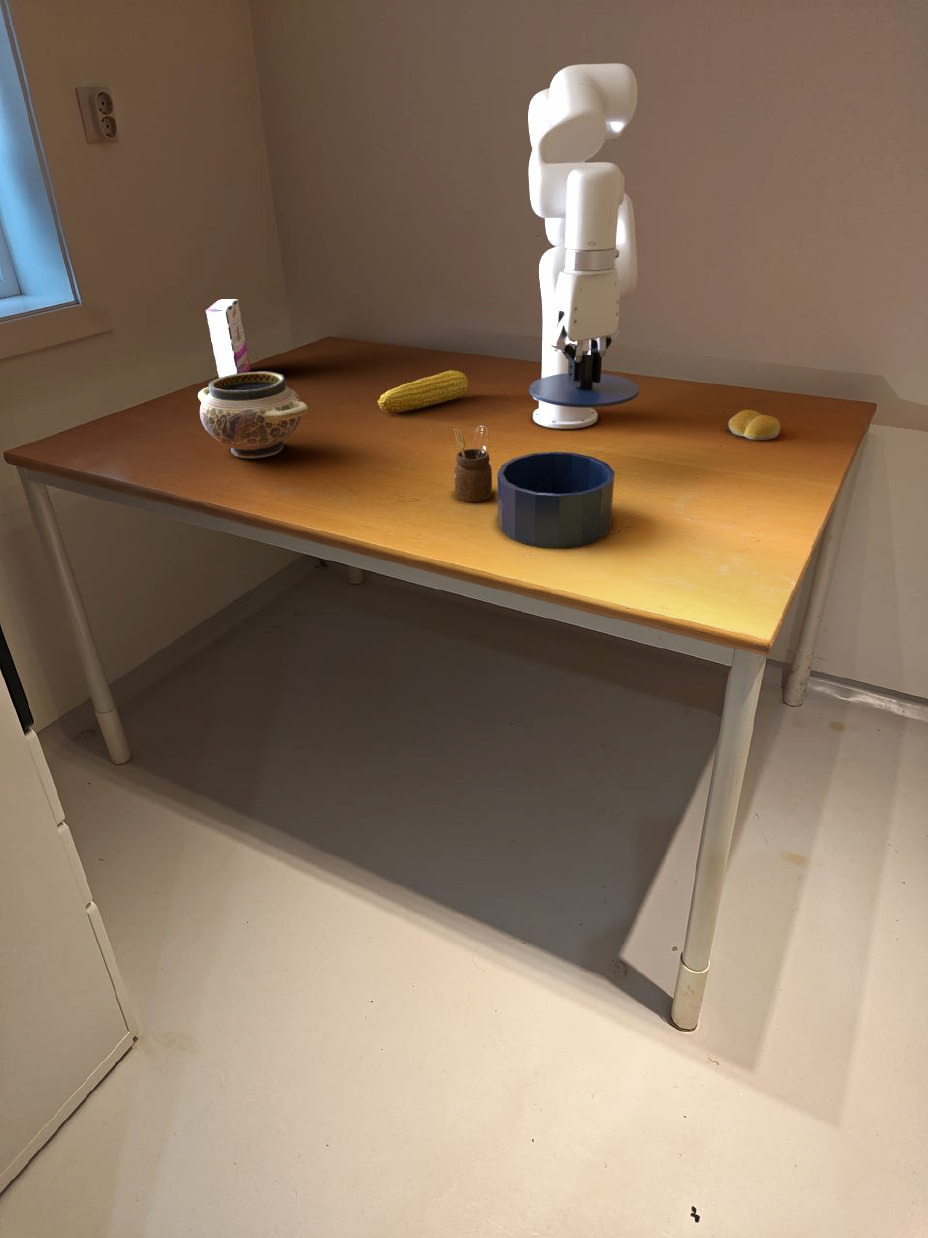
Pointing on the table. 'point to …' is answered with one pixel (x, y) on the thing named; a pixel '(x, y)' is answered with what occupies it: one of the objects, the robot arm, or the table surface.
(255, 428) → the ceramic bowl
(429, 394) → the food
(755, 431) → the bread roll
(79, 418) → the table surface
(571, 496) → the tin
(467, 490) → the utensil holder
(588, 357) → the tin lid
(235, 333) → the candy bar box
